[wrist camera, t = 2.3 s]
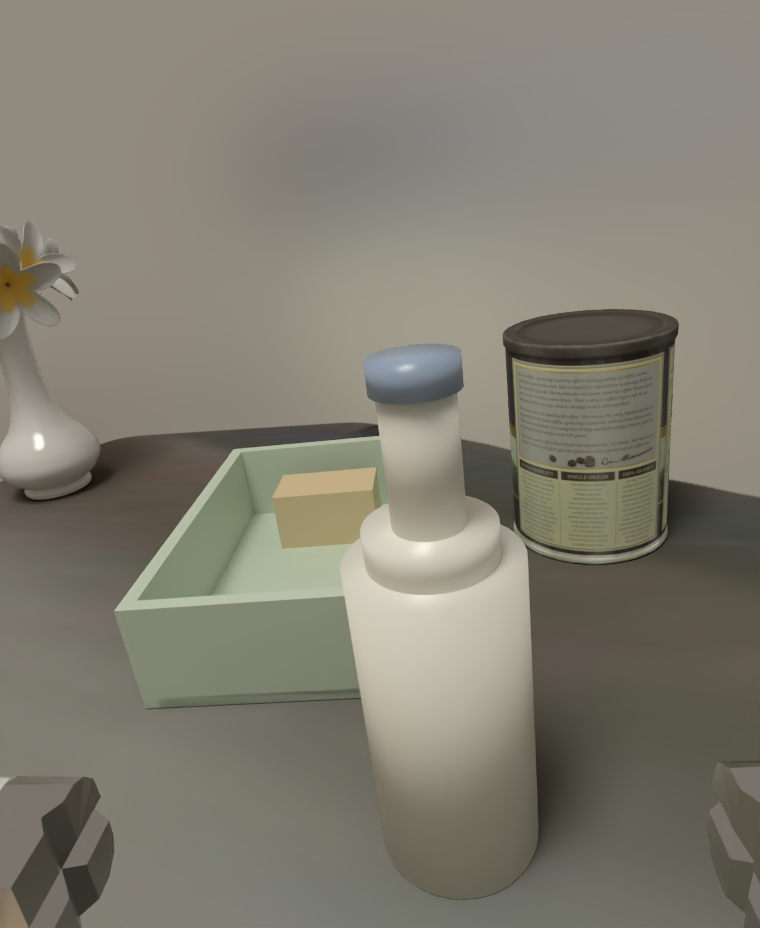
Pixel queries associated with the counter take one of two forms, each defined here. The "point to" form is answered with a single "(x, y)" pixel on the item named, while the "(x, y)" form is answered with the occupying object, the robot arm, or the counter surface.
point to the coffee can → (591, 432)
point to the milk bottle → (442, 644)
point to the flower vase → (37, 374)
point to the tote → (246, 593)
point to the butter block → (325, 506)
